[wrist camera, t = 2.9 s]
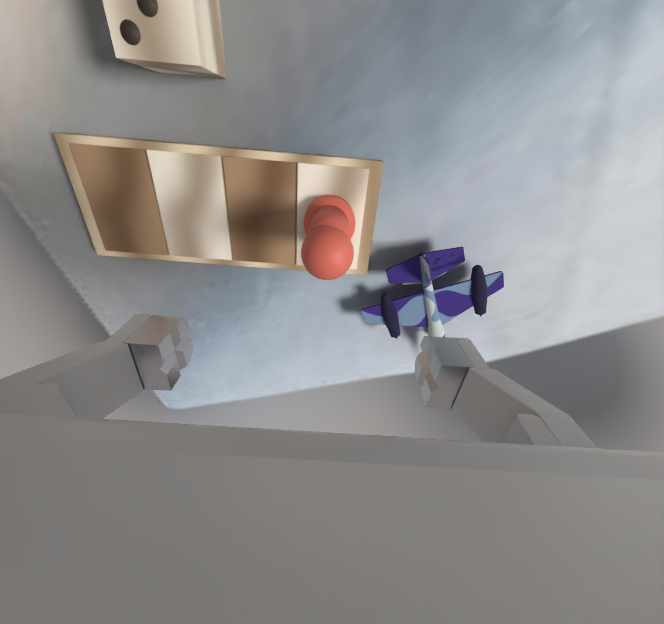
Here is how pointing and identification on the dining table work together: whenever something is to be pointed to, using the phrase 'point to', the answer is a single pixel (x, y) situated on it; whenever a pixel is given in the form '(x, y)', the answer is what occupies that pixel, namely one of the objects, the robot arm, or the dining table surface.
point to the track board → (212, 200)
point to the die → (168, 35)
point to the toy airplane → (432, 293)
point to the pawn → (328, 237)
